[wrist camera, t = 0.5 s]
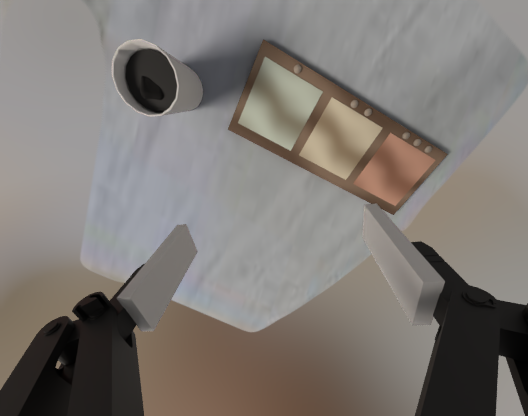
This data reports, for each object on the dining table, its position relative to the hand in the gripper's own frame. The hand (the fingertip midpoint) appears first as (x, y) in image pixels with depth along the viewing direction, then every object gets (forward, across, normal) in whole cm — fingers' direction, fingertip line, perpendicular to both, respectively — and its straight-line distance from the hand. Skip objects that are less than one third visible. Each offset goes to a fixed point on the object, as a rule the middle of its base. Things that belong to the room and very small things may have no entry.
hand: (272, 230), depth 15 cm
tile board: (+22, +10, +1) cm, 24 cm away
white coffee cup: (+21, -12, +12) cm, 27 cm away
